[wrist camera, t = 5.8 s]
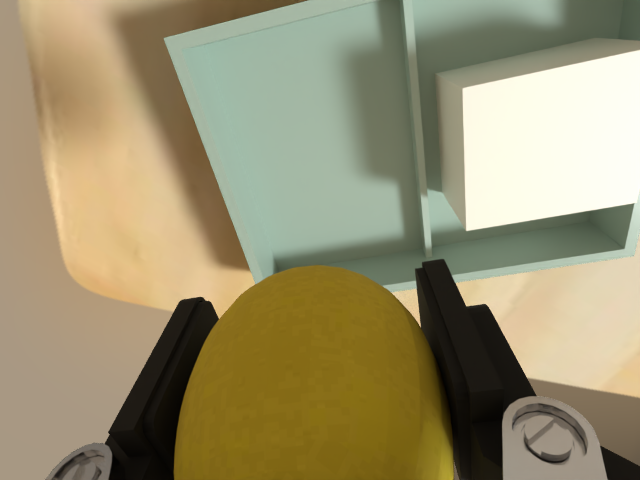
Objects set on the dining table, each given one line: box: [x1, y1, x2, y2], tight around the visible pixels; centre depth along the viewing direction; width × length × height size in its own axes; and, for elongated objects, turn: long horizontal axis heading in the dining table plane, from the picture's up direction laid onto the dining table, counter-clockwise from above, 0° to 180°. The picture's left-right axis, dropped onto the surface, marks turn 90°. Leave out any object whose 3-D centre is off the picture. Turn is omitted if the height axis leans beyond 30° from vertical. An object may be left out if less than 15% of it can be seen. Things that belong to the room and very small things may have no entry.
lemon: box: [174, 265, 454, 480], centre depth 8 cm, size 6×6×8 cm
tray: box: [164, 0, 640, 292], centre depth 21 cm, size 16×22×4 cm
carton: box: [435, 38, 640, 231], centre depth 19 cm, size 7×8×5 cm
